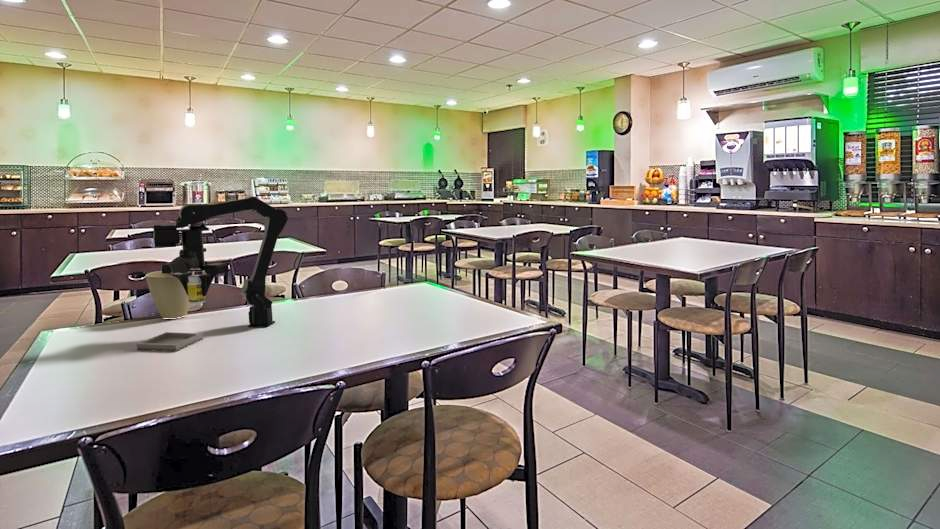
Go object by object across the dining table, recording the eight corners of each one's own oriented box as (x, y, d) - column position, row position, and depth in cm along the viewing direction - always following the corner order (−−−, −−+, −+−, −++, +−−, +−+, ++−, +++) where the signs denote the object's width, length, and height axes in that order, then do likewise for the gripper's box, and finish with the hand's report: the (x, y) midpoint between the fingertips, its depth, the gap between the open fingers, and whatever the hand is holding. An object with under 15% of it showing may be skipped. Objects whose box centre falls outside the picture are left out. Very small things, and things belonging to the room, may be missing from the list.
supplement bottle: (198, 304, 163) (196, 277, 162) (185, 303, 164) (183, 276, 163) (209, 301, 168) (207, 274, 167) (196, 300, 169) (194, 274, 168)
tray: (203, 339, 161) (202, 333, 161) (176, 351, 149) (175, 345, 149) (166, 338, 162) (166, 332, 162) (137, 350, 151) (136, 343, 150)
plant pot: (143, 318, 187) (138, 273, 185) (187, 310, 198) (184, 268, 196) (159, 325, 178) (155, 278, 175) (205, 316, 189) (201, 272, 186)
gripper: (146, 248, 157) (150, 300, 159) (204, 249, 154) (208, 302, 157) (171, 244, 168) (176, 293, 170) (227, 245, 165) (230, 294, 167)
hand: (196, 295), depth 166 cm, fingers closed on supplement bottle, 5 cm apart
